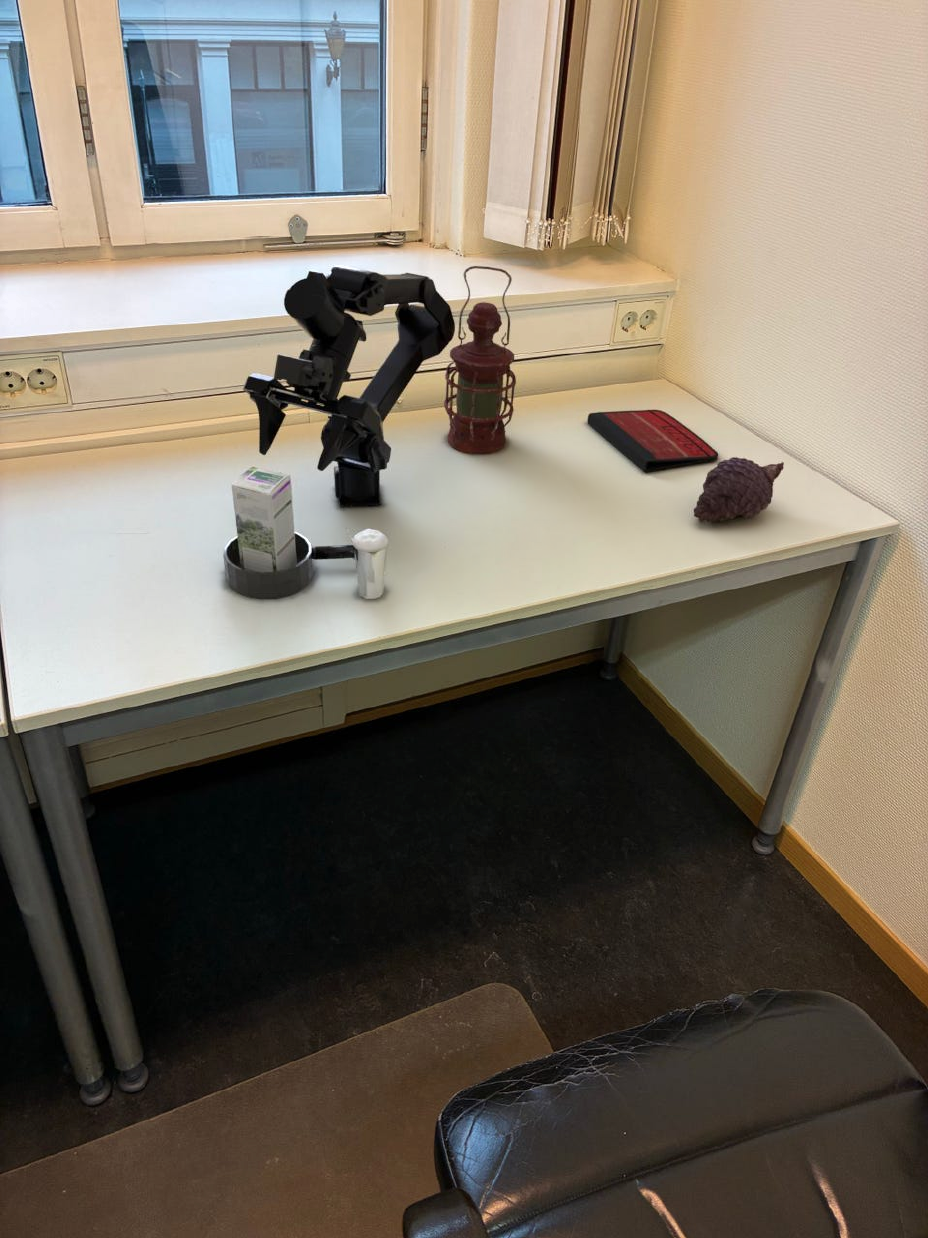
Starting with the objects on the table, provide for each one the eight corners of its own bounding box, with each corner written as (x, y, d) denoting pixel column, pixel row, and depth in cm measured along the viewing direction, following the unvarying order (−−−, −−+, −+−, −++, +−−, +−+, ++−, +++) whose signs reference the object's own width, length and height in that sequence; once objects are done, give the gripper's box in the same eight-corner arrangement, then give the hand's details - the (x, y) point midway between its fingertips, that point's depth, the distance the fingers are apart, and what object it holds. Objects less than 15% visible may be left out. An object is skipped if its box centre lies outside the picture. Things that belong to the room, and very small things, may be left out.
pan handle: (382, 552, 127) (382, 541, 126) (383, 559, 126) (383, 548, 125) (309, 555, 126) (308, 544, 125) (309, 562, 124) (308, 551, 123)
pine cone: (725, 545, 138) (701, 485, 135) (685, 544, 147) (662, 487, 145) (809, 492, 143) (788, 433, 140) (766, 494, 152) (745, 438, 150)
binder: (646, 460, 155) (587, 411, 170) (643, 473, 156) (585, 423, 172) (725, 452, 160) (661, 406, 176) (721, 464, 162) (658, 417, 177)
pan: (312, 550, 131) (310, 526, 129) (314, 596, 122) (312, 571, 120) (228, 553, 129) (225, 529, 127) (224, 601, 120) (221, 575, 118)
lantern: (434, 450, 159) (441, 272, 141) (451, 422, 169) (458, 252, 151) (503, 460, 157) (519, 281, 140) (516, 432, 167) (532, 260, 149)
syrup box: (298, 566, 127) (292, 472, 119) (278, 588, 123) (270, 492, 114) (262, 557, 128) (253, 463, 120) (240, 579, 124) (229, 483, 115)
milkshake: (348, 583, 125) (346, 519, 119) (387, 583, 125) (387, 519, 120) (347, 602, 121) (345, 537, 115) (388, 602, 122) (388, 537, 116)
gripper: (243, 313, 120) (201, 423, 119) (367, 340, 114) (324, 457, 113) (282, 352, 131) (244, 453, 129) (398, 379, 125) (359, 485, 123)
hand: (290, 461), depth 124 cm, fingers open, 9 cm apart
